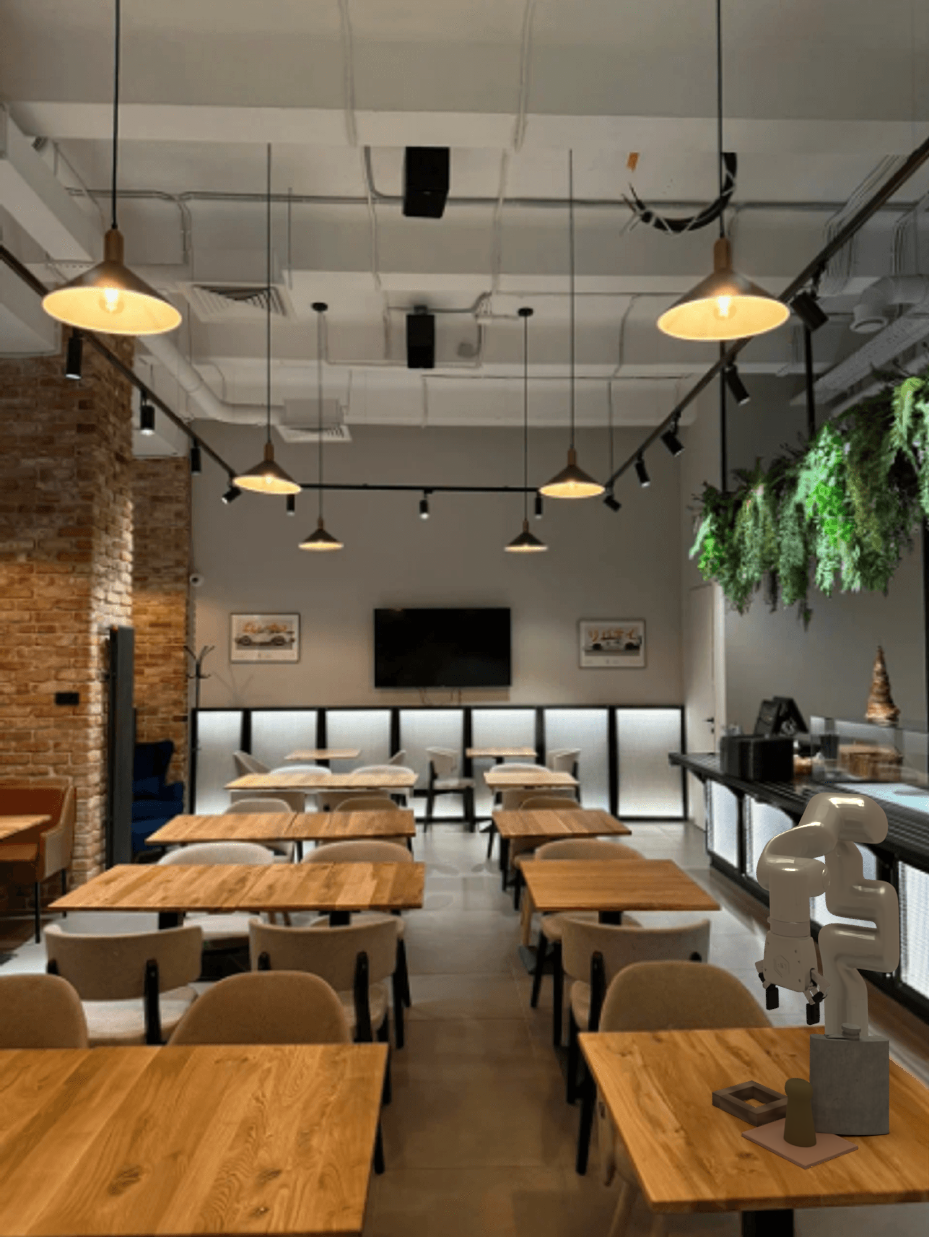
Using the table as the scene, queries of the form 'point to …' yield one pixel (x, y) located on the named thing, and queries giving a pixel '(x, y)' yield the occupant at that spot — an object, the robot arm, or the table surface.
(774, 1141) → the terracotta tile
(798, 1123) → the olive pawn shape
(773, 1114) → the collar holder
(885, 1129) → the hip flask
